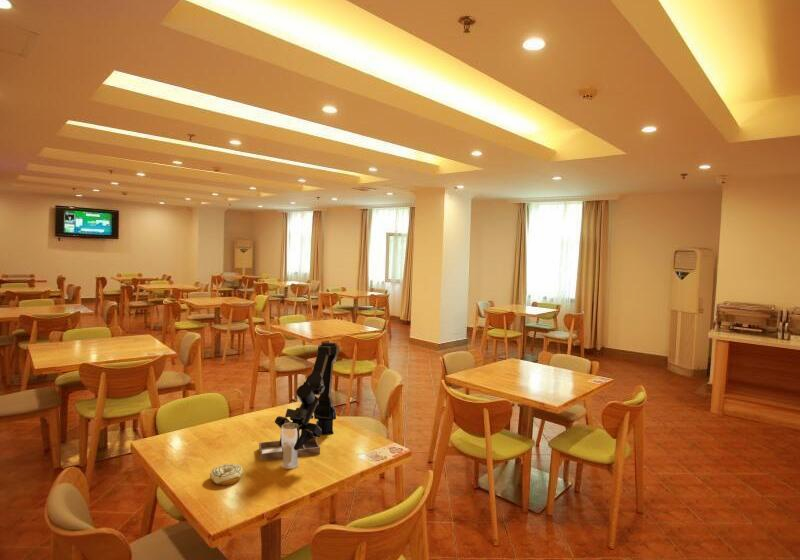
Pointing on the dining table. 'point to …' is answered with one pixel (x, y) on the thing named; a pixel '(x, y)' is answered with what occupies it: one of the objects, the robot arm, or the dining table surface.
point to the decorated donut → (226, 474)
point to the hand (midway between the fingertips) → (287, 448)
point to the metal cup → (290, 444)
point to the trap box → (275, 452)
